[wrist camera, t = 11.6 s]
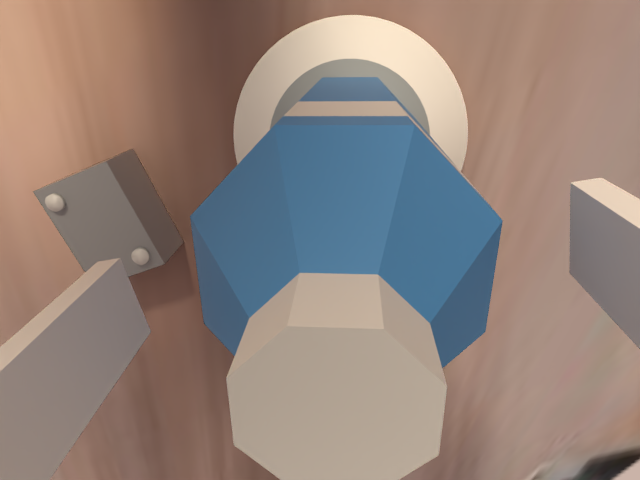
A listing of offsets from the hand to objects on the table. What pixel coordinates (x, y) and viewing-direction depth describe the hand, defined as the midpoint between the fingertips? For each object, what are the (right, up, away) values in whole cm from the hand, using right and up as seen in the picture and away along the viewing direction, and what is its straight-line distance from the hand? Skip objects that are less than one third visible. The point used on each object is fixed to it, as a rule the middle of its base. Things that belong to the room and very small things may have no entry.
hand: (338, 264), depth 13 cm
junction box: (-16, +3, +22) cm, 27 cm away
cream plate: (+1, +8, +19) cm, 21 cm away
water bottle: (+1, +7, +18) cm, 20 cm away
